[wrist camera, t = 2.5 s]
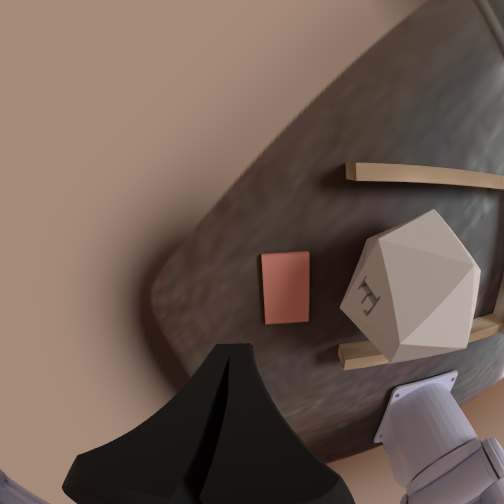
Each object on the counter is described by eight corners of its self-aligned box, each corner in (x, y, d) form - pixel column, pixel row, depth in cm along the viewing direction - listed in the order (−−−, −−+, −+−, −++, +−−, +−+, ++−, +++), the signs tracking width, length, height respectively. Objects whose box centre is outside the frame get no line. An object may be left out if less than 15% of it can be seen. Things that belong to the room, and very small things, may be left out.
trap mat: (308, 319, 19) (308, 321, 19) (265, 321, 19) (265, 324, 19) (308, 251, 18) (309, 252, 17) (261, 253, 18) (261, 255, 17)
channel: (495, 320, 19) (512, 334, 16) (338, 353, 20) (347, 379, 17) (518, 179, 15) (541, 183, 12) (345, 162, 16) (362, 162, 13)
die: (398, 176, 17) (361, 221, 10) (496, 240, 13) (520, 330, 7) (355, 266, 22) (297, 343, 15) (438, 319, 18) (414, 417, 12)
